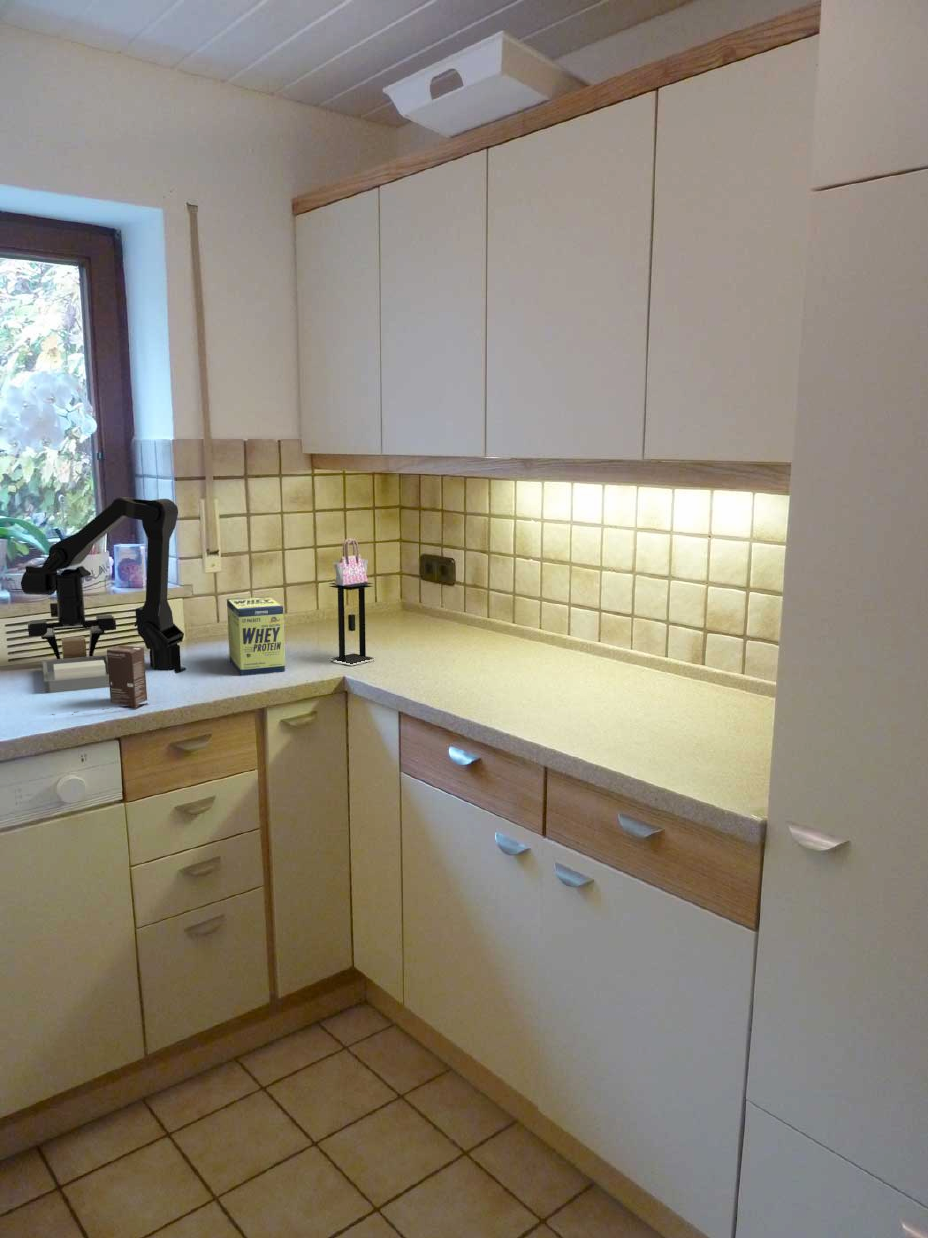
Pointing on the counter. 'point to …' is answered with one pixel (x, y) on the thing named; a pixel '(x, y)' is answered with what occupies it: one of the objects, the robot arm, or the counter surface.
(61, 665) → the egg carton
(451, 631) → the counter surface
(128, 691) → the box
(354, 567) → the handbag
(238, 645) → the protein box
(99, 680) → the tote
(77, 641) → the tea tin
